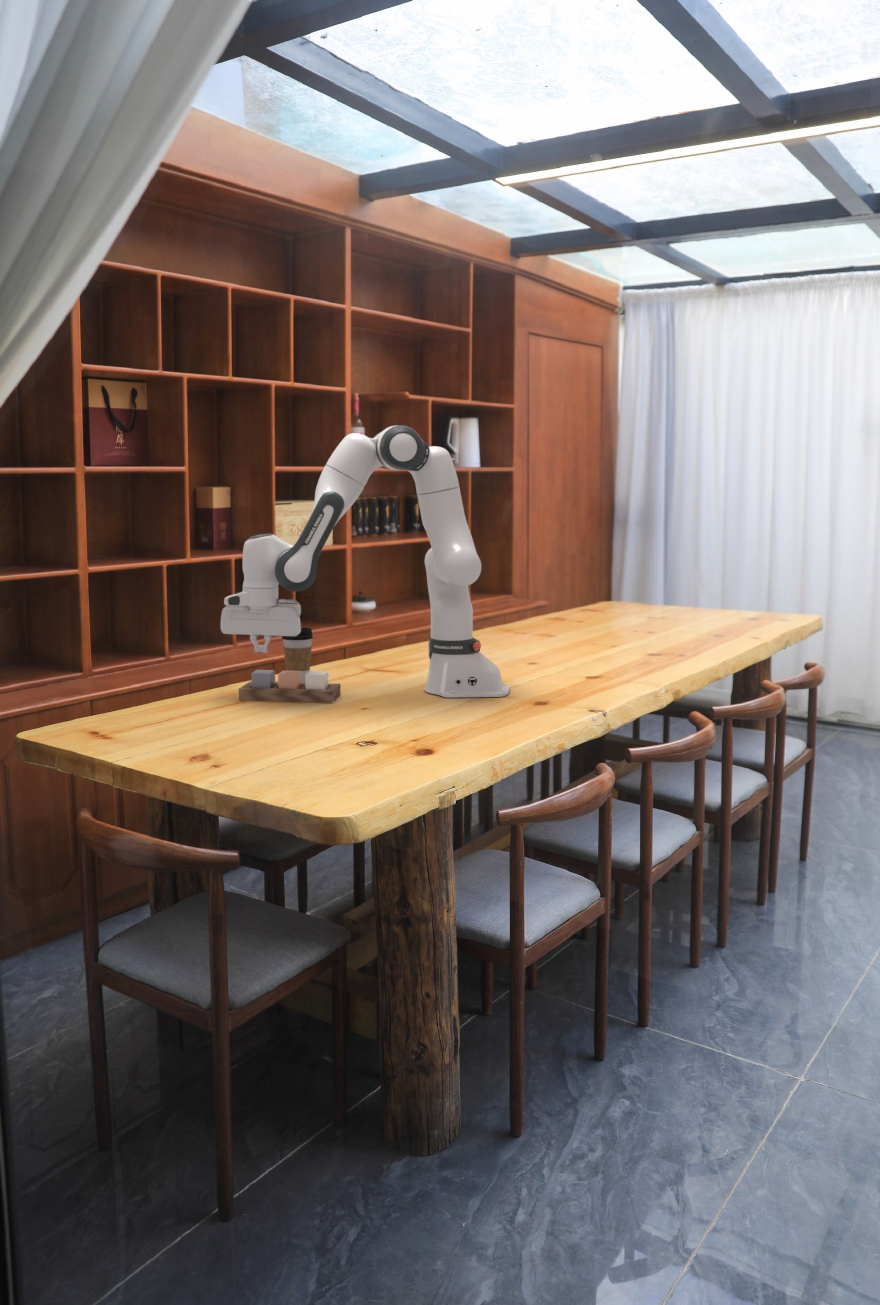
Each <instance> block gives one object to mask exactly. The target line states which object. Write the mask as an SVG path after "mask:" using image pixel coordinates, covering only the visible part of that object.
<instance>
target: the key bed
mask: <svg viewBox="0 0 880 1305" xmlns="http://www.w3.org/2000/svg"><path fill="white" fill-rule="evenodd" d="M340 696H341V683H336V682H333V683H330V682H328V688H327V689H326V690H320V689H306V685H305V683H302V686H301V687H300V688H299V689H282V688H279V687H278V681H275V686H274V687H272V688H252V682H251V680H250V681H248V682H247V683H246V684H244V685H242V686H241V687H239V688H238V701H242V702H243V701H244V702H272V703H273V702H274V703H275V702H277V703H278V702H279V703H309V704H312V703H313V704H315V703H316V704H333V703H334V702H335V701H336V700H338V698H339V697H340Z"/></svg>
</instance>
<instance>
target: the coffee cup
mask: <svg viewBox="0 0 880 1305" xmlns="http://www.w3.org/2000/svg"><path fill="white" fill-rule="evenodd" d="M313 636H314V635H313V631H312V627H301V632H300V633H299V634H298V635H297V636H281V637H282V638H281V639H282V640H283V646H282V648H283V654H284V655H283V656H284V662H285V671H301V675H302V683H305V674H307V673H308V672H309V671H311V670H310V669H311V659H312V647H313V645H312V639H313V638H314V637H313Z"/></svg>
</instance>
